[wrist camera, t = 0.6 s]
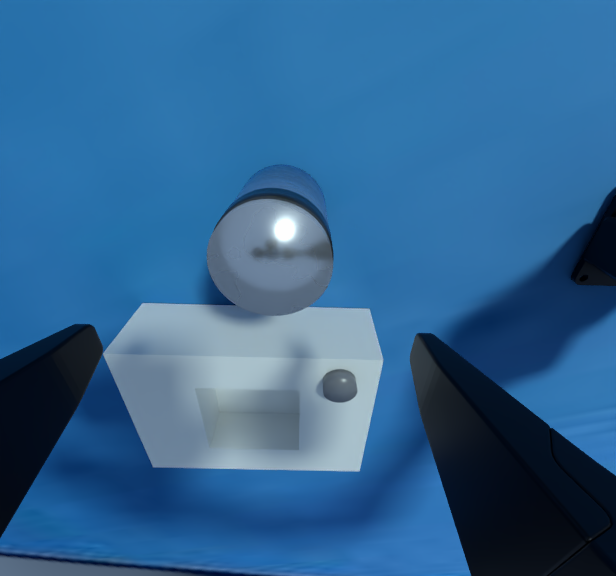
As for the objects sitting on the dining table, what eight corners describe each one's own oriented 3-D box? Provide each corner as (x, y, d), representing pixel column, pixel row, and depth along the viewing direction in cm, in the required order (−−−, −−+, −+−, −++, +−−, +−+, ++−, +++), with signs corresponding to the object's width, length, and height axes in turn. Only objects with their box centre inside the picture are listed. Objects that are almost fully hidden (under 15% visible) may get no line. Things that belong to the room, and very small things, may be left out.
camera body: (369, 308, 22) (386, 370, 17) (352, 414, 29) (360, 482, 24) (142, 303, 22) (94, 364, 17) (176, 411, 28) (148, 478, 23)
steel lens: (329, 165, 17) (339, 204, 11) (324, 250, 20) (330, 318, 14) (235, 162, 17) (195, 200, 11) (243, 248, 20) (214, 315, 14)
